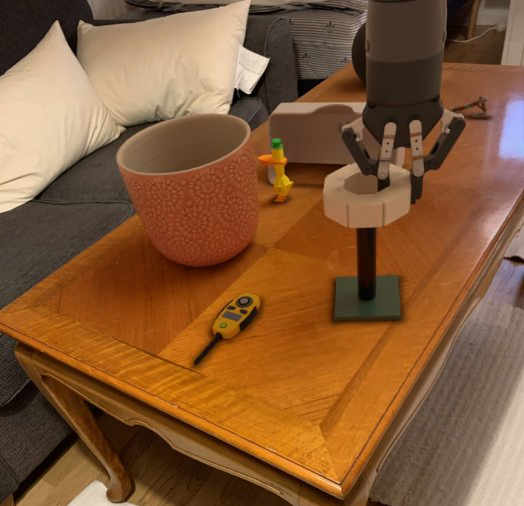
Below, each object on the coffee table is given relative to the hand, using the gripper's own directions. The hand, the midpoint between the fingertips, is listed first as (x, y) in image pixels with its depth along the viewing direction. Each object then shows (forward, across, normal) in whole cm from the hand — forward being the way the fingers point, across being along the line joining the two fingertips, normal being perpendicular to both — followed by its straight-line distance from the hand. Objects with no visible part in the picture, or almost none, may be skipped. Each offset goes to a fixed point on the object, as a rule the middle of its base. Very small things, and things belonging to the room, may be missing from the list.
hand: (398, 201), depth 63 cm
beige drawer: (+16, +9, -41) cm, 45 cm away
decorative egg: (+16, +1, -85) cm, 87 cm away
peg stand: (+16, +4, 0) cm, 16 cm away
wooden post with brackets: (+16, -18, -60) cm, 65 cm away
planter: (+16, +31, -16) cm, 38 cm away
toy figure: (+16, +20, -30) cm, 39 cm away
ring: (0, +4, 0) cm, 4 cm away
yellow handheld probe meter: (+16, +24, +6) cm, 29 cm away
